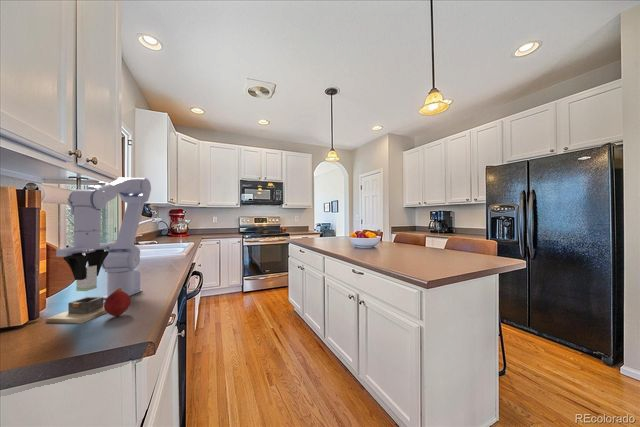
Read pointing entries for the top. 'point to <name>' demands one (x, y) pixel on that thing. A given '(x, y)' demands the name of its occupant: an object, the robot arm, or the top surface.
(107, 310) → the onion
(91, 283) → the post
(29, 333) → the top surface
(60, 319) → the stand
